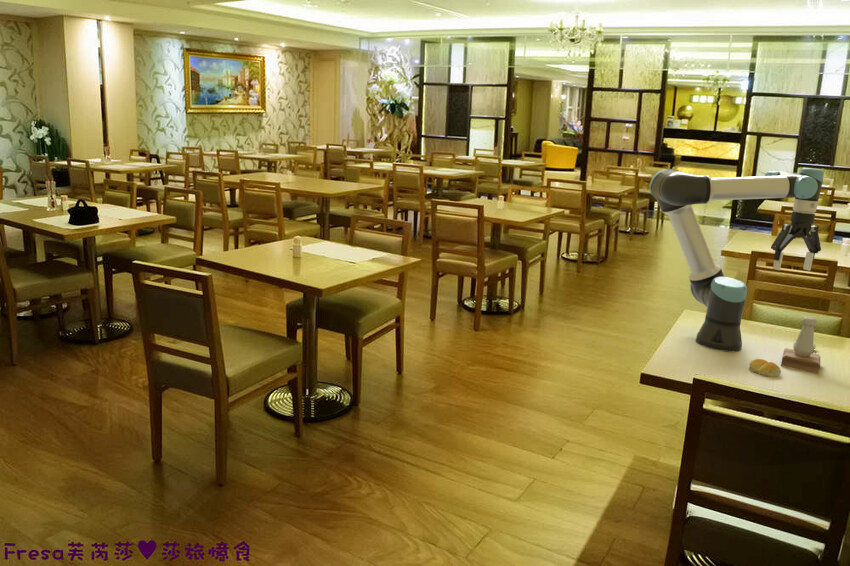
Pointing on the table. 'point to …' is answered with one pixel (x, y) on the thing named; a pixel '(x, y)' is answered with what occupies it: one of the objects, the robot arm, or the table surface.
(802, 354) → the salt shaker
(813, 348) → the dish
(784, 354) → the stand
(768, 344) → the table surface
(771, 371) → the bread roll
